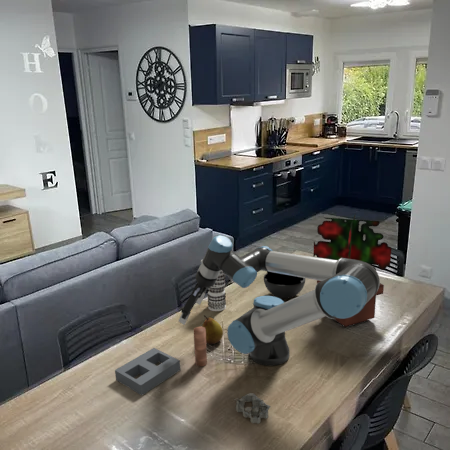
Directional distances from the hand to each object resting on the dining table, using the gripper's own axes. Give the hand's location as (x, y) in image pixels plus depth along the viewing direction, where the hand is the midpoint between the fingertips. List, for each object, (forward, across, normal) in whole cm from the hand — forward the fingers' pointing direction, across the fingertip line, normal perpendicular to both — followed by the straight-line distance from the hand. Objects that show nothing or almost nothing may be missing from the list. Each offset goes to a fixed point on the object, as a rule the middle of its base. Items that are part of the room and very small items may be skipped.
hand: (189, 312), depth 175 cm
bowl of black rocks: (+10, -54, +30) cm, 63 cm away
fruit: (+12, -6, +12) cm, 18 cm away
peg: (+9, +10, +14) cm, 19 cm away
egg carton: (-5, +28, +36) cm, 46 cm away
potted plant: (-6, -42, +58) cm, 72 cm away
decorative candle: (+20, -34, +5) cm, 40 cm away
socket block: (+14, +23, 0) cm, 27 cm away
